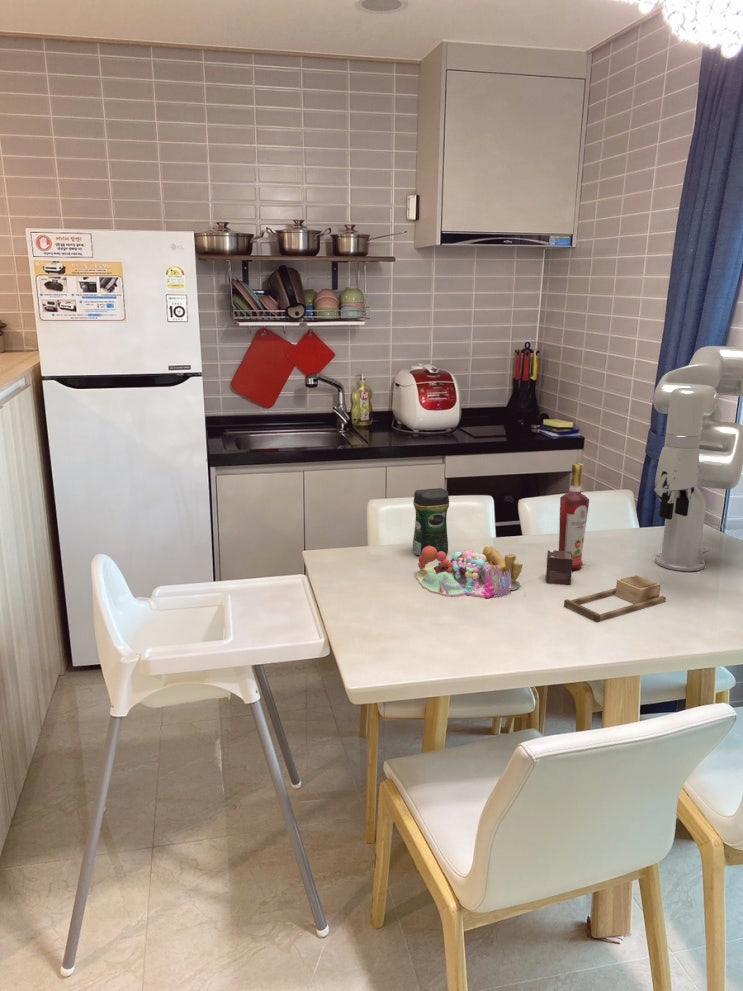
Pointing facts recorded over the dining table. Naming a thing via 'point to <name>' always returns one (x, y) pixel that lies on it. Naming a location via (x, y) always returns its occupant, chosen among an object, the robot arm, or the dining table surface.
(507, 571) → the pastel sphere sculpture
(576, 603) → the bay
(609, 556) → the dining table surface
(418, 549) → the coffee jar
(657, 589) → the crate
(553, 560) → the box
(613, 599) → the dining table surface
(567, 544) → the liquor
